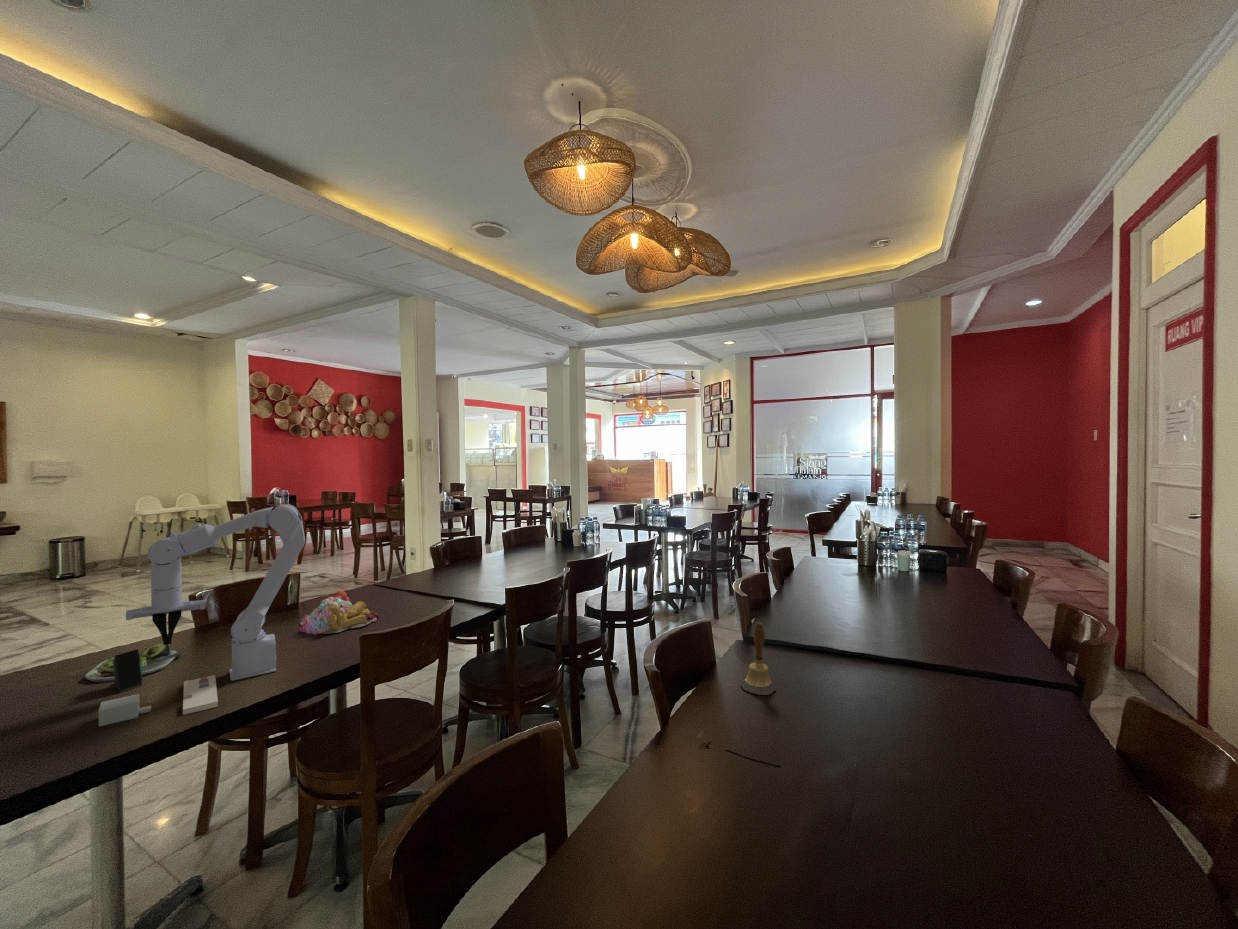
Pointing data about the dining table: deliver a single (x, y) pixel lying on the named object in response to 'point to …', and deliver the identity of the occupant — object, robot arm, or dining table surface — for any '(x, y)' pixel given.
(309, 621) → the candy landscape model
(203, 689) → the power strip
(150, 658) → the salad plate
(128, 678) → the speaker
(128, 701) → the charger
